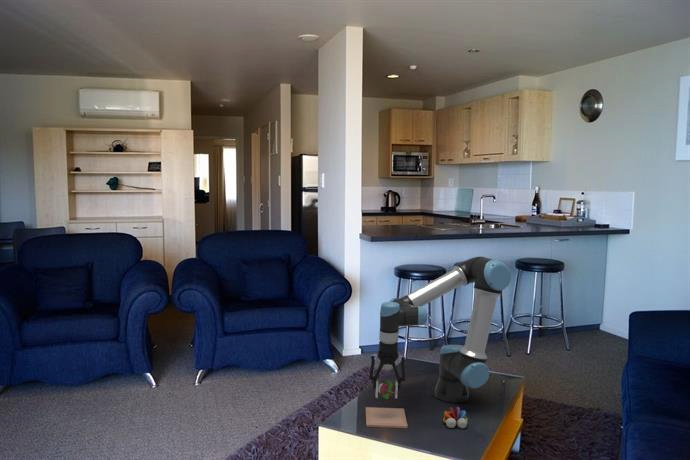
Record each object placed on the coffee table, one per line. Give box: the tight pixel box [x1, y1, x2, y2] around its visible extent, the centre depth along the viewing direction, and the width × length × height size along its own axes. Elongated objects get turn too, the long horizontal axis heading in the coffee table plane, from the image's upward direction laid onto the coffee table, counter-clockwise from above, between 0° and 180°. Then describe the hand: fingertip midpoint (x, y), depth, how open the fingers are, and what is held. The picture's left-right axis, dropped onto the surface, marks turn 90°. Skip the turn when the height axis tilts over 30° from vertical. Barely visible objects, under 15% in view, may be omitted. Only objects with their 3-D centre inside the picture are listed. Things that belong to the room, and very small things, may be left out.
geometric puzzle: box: [378, 380, 396, 400], centre depth 214 cm, size 7×7×8 cm
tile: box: [365, 406, 409, 429], centre depth 215 cm, size 16×16×1 cm
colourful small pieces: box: [442, 406, 469, 429], centre depth 211 cm, size 8×10×7 cm
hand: (386, 396), depth 215 cm, fingers closed on geometric puzzle, 7 cm apart
